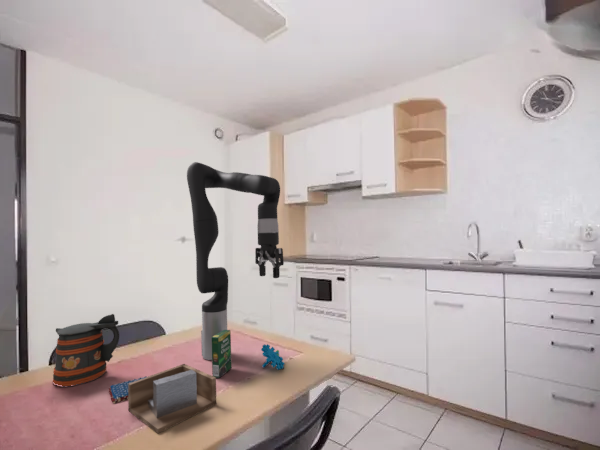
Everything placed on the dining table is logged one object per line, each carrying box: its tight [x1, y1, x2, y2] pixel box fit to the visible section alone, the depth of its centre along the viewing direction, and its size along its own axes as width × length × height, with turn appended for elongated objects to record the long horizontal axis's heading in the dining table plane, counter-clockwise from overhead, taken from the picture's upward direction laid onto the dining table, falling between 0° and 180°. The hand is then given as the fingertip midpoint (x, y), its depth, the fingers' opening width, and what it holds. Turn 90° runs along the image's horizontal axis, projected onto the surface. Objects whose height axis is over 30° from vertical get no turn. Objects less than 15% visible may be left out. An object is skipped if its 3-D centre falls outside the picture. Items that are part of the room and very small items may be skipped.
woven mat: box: [108, 376, 148, 404], centre depth 94 cm, size 10×11×2 cm
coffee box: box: [211, 329, 233, 379], centre depth 105 cm, size 8×3×13 cm, turn 162°
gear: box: [261, 343, 285, 371], centre depth 109 cm, size 11×6×10 cm
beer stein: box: [52, 313, 120, 386], centre depth 106 cm, size 19×15×20 cm
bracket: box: [148, 370, 197, 418], centre depth 84 cm, size 10×8×8 cm
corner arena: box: [127, 363, 217, 434], centre depth 85 cm, size 16×16×7 cm
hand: (269, 277), depth 114 cm, fingers open, 8 cm apart
